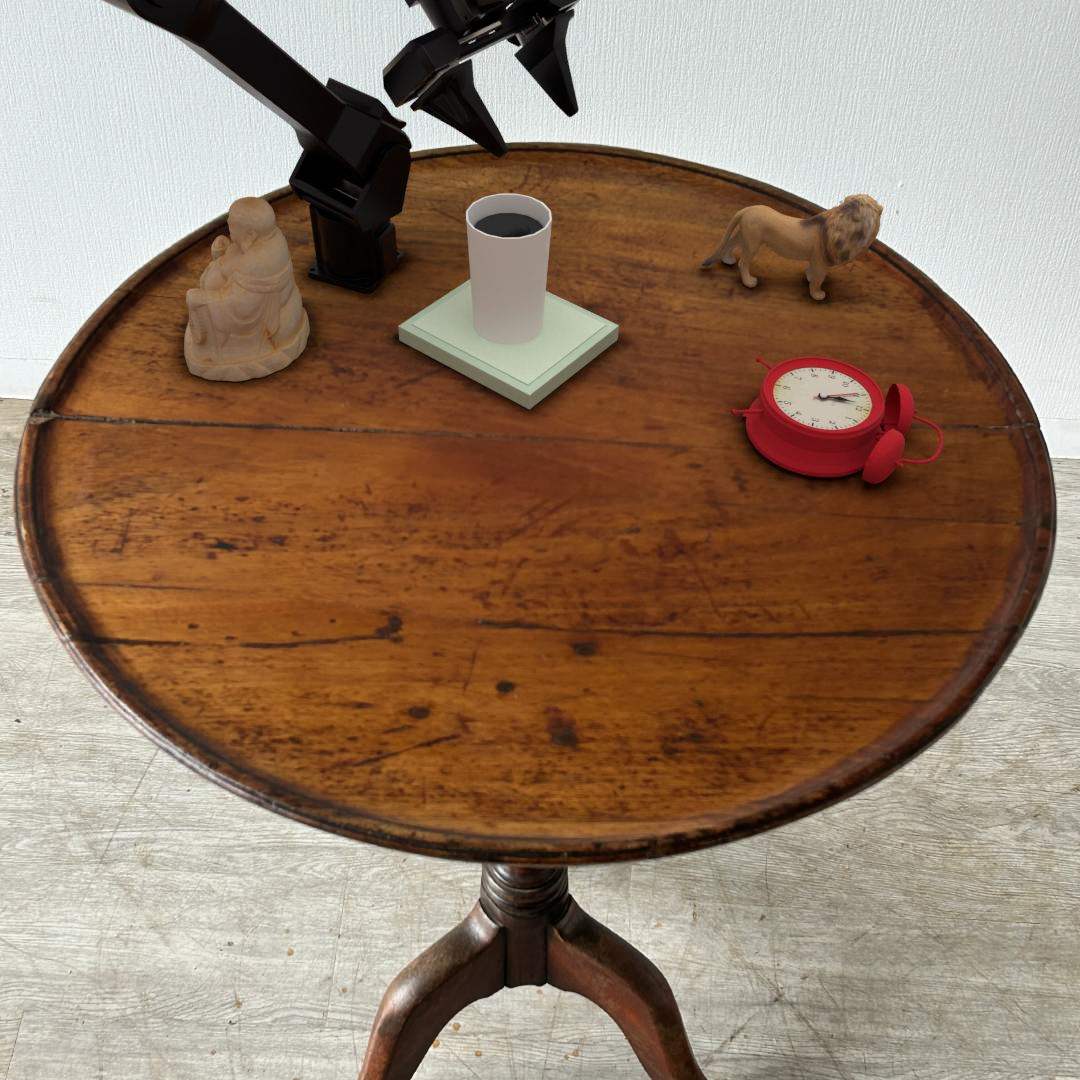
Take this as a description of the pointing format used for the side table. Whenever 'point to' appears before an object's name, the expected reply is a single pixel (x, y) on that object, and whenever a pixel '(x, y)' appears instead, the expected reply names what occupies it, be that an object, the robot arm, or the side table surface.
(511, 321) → the white cup
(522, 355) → the board
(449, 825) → the side table surface
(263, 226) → the statue
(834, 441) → the alarm clock
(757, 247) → the lion figurine
